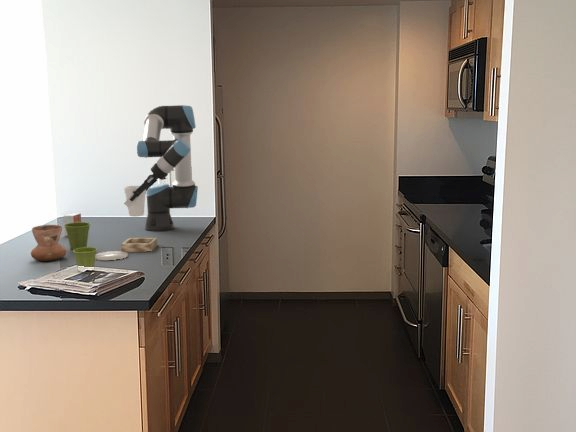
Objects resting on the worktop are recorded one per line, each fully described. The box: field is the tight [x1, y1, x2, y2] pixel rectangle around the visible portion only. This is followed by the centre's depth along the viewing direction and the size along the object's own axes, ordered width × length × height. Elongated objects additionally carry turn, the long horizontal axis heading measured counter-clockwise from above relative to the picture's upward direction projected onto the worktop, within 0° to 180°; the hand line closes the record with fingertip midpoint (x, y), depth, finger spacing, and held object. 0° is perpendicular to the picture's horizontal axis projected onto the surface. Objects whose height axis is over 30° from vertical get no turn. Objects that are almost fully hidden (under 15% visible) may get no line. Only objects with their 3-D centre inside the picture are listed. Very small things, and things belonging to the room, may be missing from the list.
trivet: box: [95, 250, 129, 261], centre depth 293 cm, size 14×14×1 cm
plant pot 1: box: [63, 221, 91, 250], centre depth 311 cm, size 12×12×11 cm
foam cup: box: [123, 185, 147, 217], centre depth 304 cm, size 10×9×13 cm
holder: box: [120, 237, 158, 253], centre depth 309 cm, size 13×13×4 cm
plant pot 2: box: [72, 246, 98, 268], centre depth 270 cm, size 9×9×9 cm
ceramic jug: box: [30, 224, 67, 262], centre depth 290 cm, size 18×14×14 cm
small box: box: [62, 212, 82, 237], centre depth 342 cm, size 8×6×10 cm
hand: (129, 203), depth 304 cm, fingers closed on foam cup, 9 cm apart
